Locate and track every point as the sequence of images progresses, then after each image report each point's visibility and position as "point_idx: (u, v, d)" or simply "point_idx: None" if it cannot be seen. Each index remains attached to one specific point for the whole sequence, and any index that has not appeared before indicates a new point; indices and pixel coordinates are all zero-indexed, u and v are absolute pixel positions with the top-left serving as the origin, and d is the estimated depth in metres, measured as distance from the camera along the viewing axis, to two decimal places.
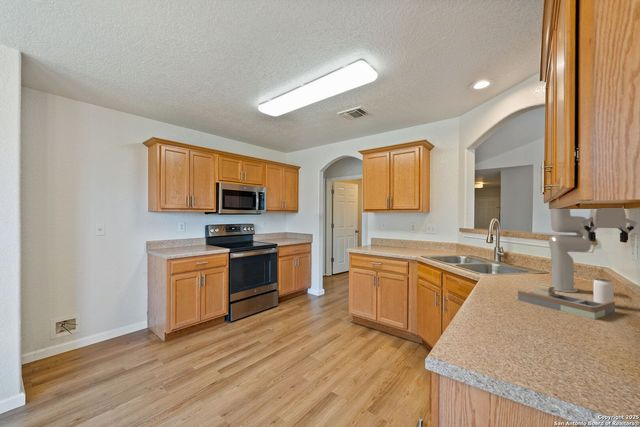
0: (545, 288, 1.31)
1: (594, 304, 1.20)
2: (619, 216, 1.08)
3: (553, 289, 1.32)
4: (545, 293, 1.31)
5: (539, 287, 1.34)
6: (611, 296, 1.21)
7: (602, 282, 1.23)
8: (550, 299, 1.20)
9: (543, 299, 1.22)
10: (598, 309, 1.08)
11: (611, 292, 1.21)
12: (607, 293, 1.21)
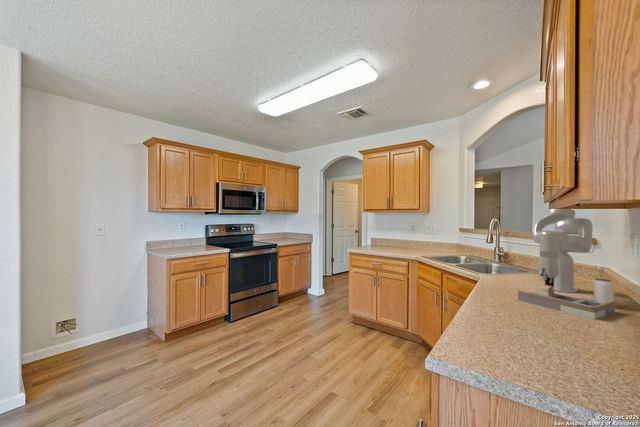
0: (544, 288, 1.31)
1: (594, 304, 1.20)
2: (557, 267, 1.36)
3: (553, 289, 1.32)
4: (544, 293, 1.31)
5: (539, 287, 1.34)
6: (611, 296, 1.21)
7: (602, 282, 1.23)
8: (550, 299, 1.20)
9: (543, 299, 1.22)
10: (598, 309, 1.08)
11: (611, 292, 1.21)
12: (607, 293, 1.21)
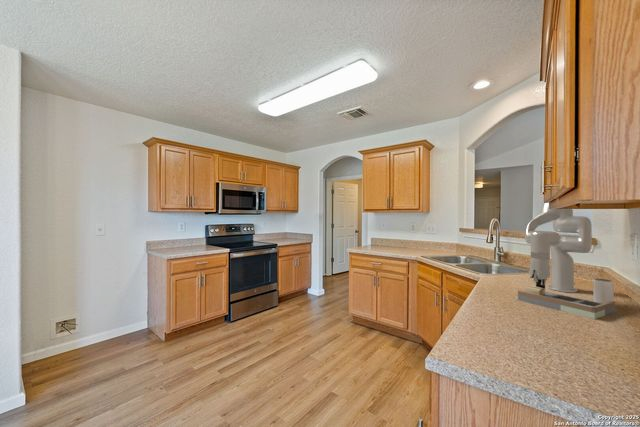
0: (536, 290, 1.27)
1: (594, 304, 1.20)
2: (548, 269, 1.32)
3: (544, 291, 1.29)
4: None
5: (530, 289, 1.30)
6: (611, 296, 1.21)
7: (602, 282, 1.23)
8: (550, 299, 1.20)
9: (543, 299, 1.22)
10: (598, 309, 1.08)
11: (611, 292, 1.21)
12: (607, 293, 1.21)
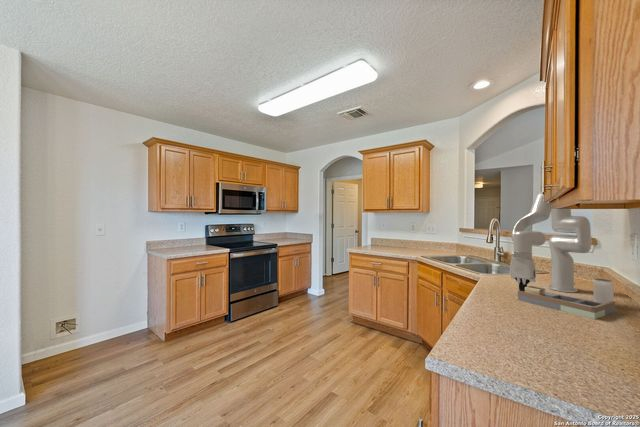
0: (536, 290, 1.27)
1: (594, 304, 1.20)
2: None
3: (544, 291, 1.28)
4: None
5: (529, 289, 1.29)
6: (611, 296, 1.21)
7: (602, 282, 1.23)
8: (550, 299, 1.20)
9: (543, 299, 1.22)
10: (598, 309, 1.08)
11: (611, 292, 1.21)
12: (607, 293, 1.21)
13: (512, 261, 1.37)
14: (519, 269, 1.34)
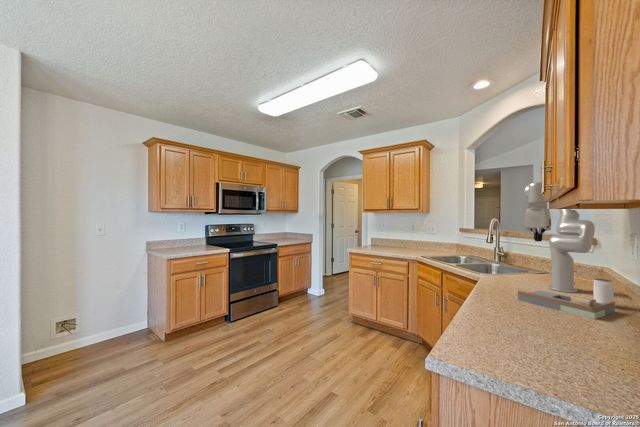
0: (585, 301, 1.10)
1: None
2: None
3: (594, 302, 1.11)
4: None
5: (577, 300, 1.13)
6: (611, 296, 1.21)
7: (602, 282, 1.23)
8: (550, 299, 1.20)
9: (543, 299, 1.22)
10: (598, 309, 1.08)
11: (611, 292, 1.21)
12: (607, 293, 1.21)
13: (527, 212, 1.39)
14: (534, 219, 1.36)
